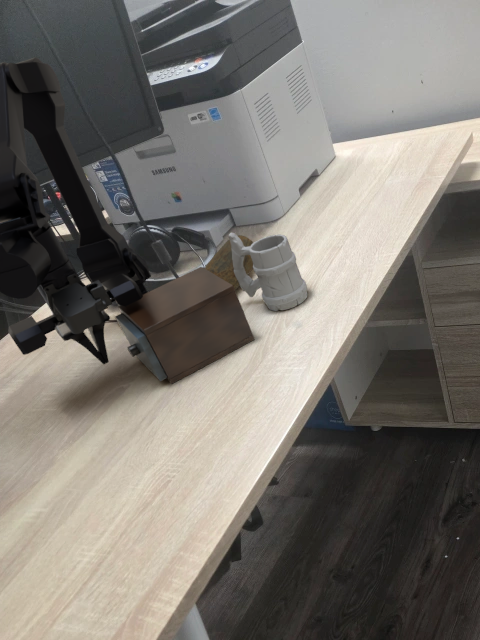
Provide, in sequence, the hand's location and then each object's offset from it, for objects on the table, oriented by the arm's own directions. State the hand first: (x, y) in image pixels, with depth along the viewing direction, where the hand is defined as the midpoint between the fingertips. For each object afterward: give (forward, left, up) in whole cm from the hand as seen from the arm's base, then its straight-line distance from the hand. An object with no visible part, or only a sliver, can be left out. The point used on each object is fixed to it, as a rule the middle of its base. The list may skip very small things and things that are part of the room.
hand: (105, 362), depth 100 cm
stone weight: (-5, +30, -3) cm, 30 cm away
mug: (+9, +28, -3) cm, 30 cm away
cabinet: (+7, +12, -3) cm, 14 cm away
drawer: (+7, +10, -2) cm, 12 cm away
